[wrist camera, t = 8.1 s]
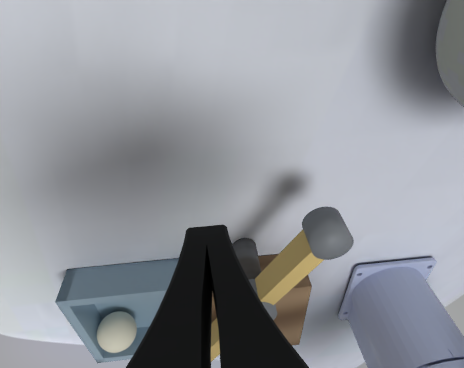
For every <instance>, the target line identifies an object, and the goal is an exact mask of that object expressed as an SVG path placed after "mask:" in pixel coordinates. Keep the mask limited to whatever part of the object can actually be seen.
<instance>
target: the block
mask: <svg viewBox="0 0 464 368" xmlns="http://www.w3.org/2000/svg"><path fill="white" fill-rule="evenodd" d="M233 248H234V251H235V253H236V256H237V258H238V260H239V262H240V264H241V266H242V268H243V270H244V272H245V274H246V276H247V278H248V280H249V279H255V278H256V277H257V276H258V275H259V274H260V273H261V272H262V271H263V270H264V269H265V268H266V267H267V266H268V265H269V264H270V263H271V262H272V261H273V260H274V259H275V258H276V257H277V256H278V255H279V254H276V255H266V256H258V253H257V249H256V244H255V242H254V241H253V240H251V239H247V238H244V239H240V240H237V241H236V242H235V243H234V244H233ZM311 287H312V286H311V283H310V280H309V277H308V275H307V276H305V277H304V278H303V279H302V280H301V281H300V282H299V283H298V284H297V285H295V286H294V287H293V288H292V289H291V290H290V291H289V292H288V293H287V294H285V295H284V296H283V297H282V298H281V299H280V300H279V301H278V302H277V303H276V304H275V305H276V310H277V316H276V318H275V319H274V320H273V321H274V322H275V324H276V325H277V326H278V328H279V329H280V331H281V332H282V333H283V335H284V336H285V338H286V339H287V340H288V342H289V343H290V344H291V345H298V344H299V343H300V338H301V333H302V329H303V324H304V319H305V315H306V310H307V306H308V301H309V296H310V292H311ZM216 318H217V316H216V310H215V303H214V297H213V291H212V322H213V321H214V320H215V319H216Z"/></svg>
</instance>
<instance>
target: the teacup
mask: <svg viewBox="0 0 464 368" xmlns="http://www.w3.org/2000/svg"><path fill="white" fill-rule="evenodd" d="M436 60H437V67H438V71H439V74H440V76H441V79H442V81H443V83H444V85H445V87H446V88H447V89H448V91H449V92H450V94H451V95H452V96H453V97H454V98H455V99H456V100H457V101H458V102H459V103H460V104H461V105H462V106H463V107H464V0H447V2H446V4H445V7H444V9H443V12H442V15H441V18H440V22H439V26H438V31H437V37H436Z"/></svg>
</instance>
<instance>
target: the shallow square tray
mask: <svg viewBox="0 0 464 368" xmlns="http://www.w3.org/2000/svg"><path fill="white" fill-rule="evenodd" d="M178 260H179V258H177V259H167V260H157V261H147V262H137V263H127V264H117V265H107V266H97V267H87V268H77V269H67V272H66V275H65V277H64V280H63V283H62V285H61V288H60V291H59V293H58V296H57V299H56V301H55V302H56V304H57V305H58V307H59V308H60V310H61V311H62V313H63V314H64V315H65V317H66V318H67V320H68V321H69V323H70V324H71V326H72V327H73V328H74V330H75V331H76V333H77V334H78V336H79V337H80V339H81V340H82V341H83V343H84V344H85V346H86V347H87V349H88V350H89V352H90V353H91V354H92V356H93V357H94V359H95V360H96V362H97V363H101V362H109V361H118V360H127V359H131V358H132V357H133V355H134V353H135V352H136V350H137V348H138V346H139V345H140V343H141V341H142V339H143V338H144V336H145V334H146V332H147V330H148V328H149V327H150V325H151V323H152V321H153V319H154V317H155V315H156V313H157V311H158V309H159V307H160V304H161V302H162V300H163V298H164V295H165V293H166V291H167V289H168V286H169V284H170V281H171V279H172V276H173V274H174V271H175V268H176V266H177V263H178ZM117 311H123V312H126V313H128V314H130V315H131V316H132V317H133V318H134V320H135V322H136V326H137V333H136V337H135V339H134V341H133V342H132V344H131V345H130V346H129V347H128V348H127V349H125V350H123V351H121V352H117V353H110V352H107V351H105V350H104V349H102V348H101V347H100V345H99V343H98V340H97V329H98V326H99V324H100V323H101V321H102V320H103V319H104V318H105V317H106V316H107V315H109V314H110V313H113V312H117Z"/></svg>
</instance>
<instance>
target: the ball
mask: <svg viewBox="0 0 464 368" xmlns="http://www.w3.org/2000/svg"><path fill="white" fill-rule="evenodd" d="M136 333H137V326H136V322H135V320H134V318H133V317H132V316H131V315H130V314H128V313H126V312H123V311H117V312H113V313H110V314H109V315H107V316H106V317H105V318H104V319H103V320H102V321H101V323H100V324H99V326H98V329H97V340H98V343H99V345H100V347H101V348H102V349H104V350H105V351H107V352H110V353H117V352H121V351H123V350H125V349H127V348H128V347H129V346H130V345H131V344H132V342H133V341H134V339H135V337H136Z"/></svg>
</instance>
